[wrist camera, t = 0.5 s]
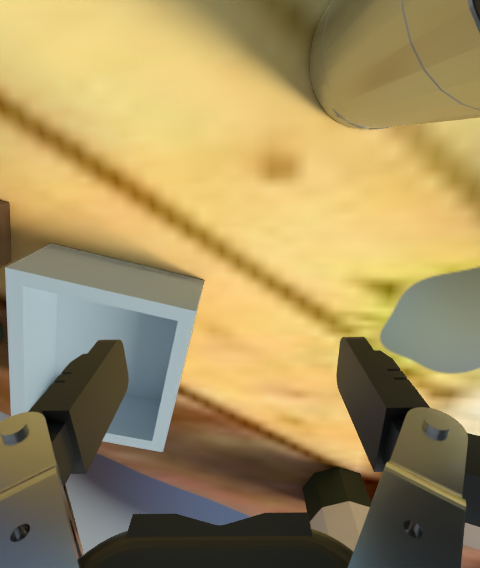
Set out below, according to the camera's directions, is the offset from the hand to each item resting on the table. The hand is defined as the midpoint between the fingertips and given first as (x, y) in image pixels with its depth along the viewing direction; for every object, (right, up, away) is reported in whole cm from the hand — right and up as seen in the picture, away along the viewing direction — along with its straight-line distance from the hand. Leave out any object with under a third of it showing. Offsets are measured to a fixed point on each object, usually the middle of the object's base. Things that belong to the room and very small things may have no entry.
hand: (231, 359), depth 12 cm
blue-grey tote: (-12, -2, +20) cm, 24 cm away
